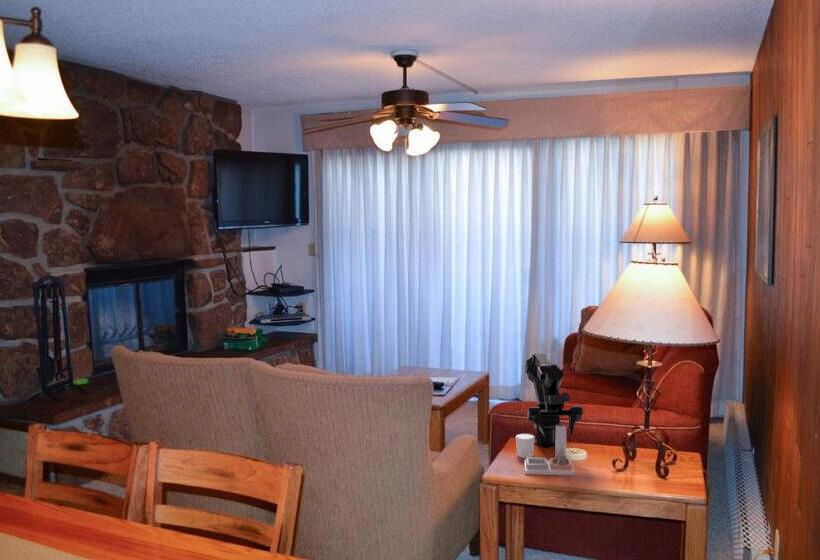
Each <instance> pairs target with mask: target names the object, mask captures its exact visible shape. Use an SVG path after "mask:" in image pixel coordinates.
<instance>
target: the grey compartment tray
mask: <svg viewBox="0 0 820 560" xmlns="http://www.w3.org/2000/svg"><path fill="white" fill-rule="evenodd" d="M523 461H524V463H523V464H524V466H523V467H524V473H525V475H542V476H543V475H545V476H546V475H549V476H550V475H552V476H553V475H554V476H575V471H574V466H573V463H572V460H571V459H570V458H567V457H566V465H555V457H550V458H549V460H548V459H547V458H546V457H527V458H525V459H524V460H523Z"/></svg>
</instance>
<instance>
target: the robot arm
mask: <svg viewBox="0 0 820 560" xmlns="http://www.w3.org/2000/svg"><path fill="white" fill-rule="evenodd" d="M524 370H525V371H524V372H525V374H526V376H527V379H528V380H529V381H530V382H531V383H533V387H534V393H535V396H536V402H537V406H530V407H528V409H527V413H526V414H527V415H526V418H527V421H528V422H531V423H532V424H533V427H534V429H535V431H536V441H534V445H537V446H539V447H542V448H551V447H555V425H557V424H561V423H560V422H561V417H564V416H565V417H568V424H569V425H568V426H569V434H570V437H573V433H574V427H575V423H577V422H578V421H581V419H582V418H583V415H584V410H583V409H584V408H583V407H582V406H581V405H571V406H570V407H569V409H564V407H565V403H569V402H570V400H571V399H570V393H569V392H563V393H562V394H561V392H560V387H561V385H562V381H563V378H564V372H563V370H562V368H561V369H560V367H559V366H558V365H557V363H554V362H550V361H549V360H548V357H547V355H546V354H545V353H543V352H539V353H537V352H536V353H532V355H531V357H530V358H528V359H527V360H526V361H525V365H524Z"/></svg>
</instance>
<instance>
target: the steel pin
mask: <svg viewBox="0 0 820 560" xmlns="http://www.w3.org/2000/svg"><path fill="white" fill-rule="evenodd" d="M554 448H555V455H554V456H555V457H554V458H555V465H566V458H567V425H566V424H563V423H559V424H557V425H555V446H554Z"/></svg>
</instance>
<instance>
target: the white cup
mask: <svg viewBox="0 0 820 560" xmlns="http://www.w3.org/2000/svg"><path fill="white" fill-rule="evenodd" d="M535 438H536V436H535V435H534V434H531V433H518V434H516V435H515V444H516V445H515V446H516V455H517V457H519V458H522V459H526V458H527V457H530V458H533V457H534V450H535V444H534V442H535Z"/></svg>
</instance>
